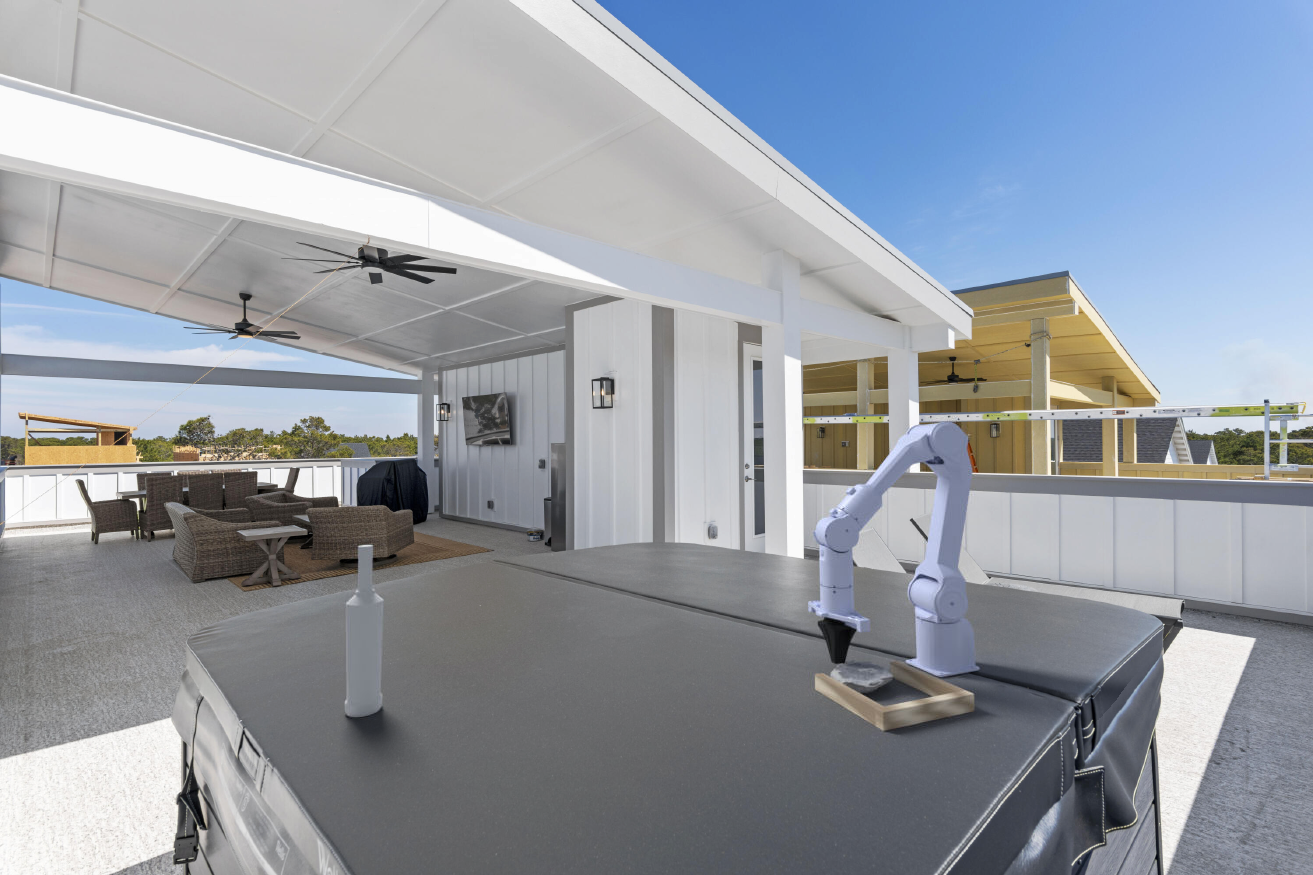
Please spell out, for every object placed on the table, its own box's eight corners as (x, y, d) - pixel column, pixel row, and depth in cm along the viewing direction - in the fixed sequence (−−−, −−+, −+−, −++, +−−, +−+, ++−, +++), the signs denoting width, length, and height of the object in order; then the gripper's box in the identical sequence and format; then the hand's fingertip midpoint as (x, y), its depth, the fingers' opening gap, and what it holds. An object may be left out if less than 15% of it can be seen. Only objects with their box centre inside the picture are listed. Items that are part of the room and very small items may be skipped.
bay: (897, 675, 100) (896, 660, 100) (974, 710, 85) (974, 693, 85) (815, 689, 94) (814, 674, 94) (883, 730, 79) (882, 712, 79)
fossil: (831, 654, 102) (890, 649, 99) (837, 677, 102) (896, 672, 99) (825, 684, 92) (890, 679, 88) (831, 709, 92) (897, 705, 88)
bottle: (390, 705, 89) (391, 544, 90) (363, 719, 84) (365, 548, 85) (364, 701, 91) (366, 542, 92) (336, 715, 86) (338, 547, 87)
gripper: (794, 579, 107) (795, 652, 107) (844, 595, 94) (846, 679, 93) (825, 576, 110) (827, 647, 109) (879, 591, 96) (881, 673, 95)
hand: (838, 662), depth 101 cm, fingers closed
